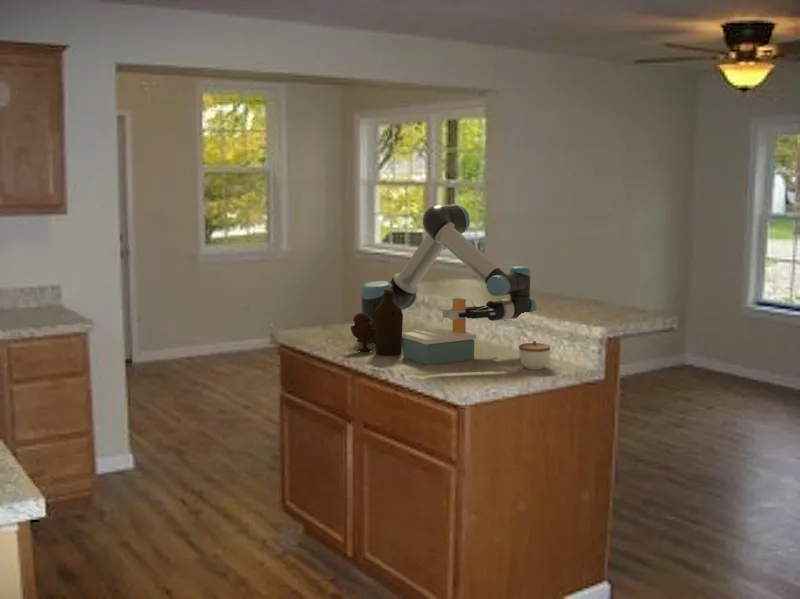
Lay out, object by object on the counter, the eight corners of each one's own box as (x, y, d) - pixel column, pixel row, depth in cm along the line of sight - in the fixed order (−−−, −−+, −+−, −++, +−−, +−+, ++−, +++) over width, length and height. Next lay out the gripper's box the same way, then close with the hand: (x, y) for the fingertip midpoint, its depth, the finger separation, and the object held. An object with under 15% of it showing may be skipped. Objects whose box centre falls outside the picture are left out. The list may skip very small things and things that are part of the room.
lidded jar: (531, 363, 319) (532, 337, 317) (556, 367, 311) (556, 341, 310) (512, 367, 311) (512, 341, 310) (536, 372, 304) (537, 345, 302)
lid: (402, 337, 324) (402, 300, 322) (449, 332, 334) (449, 296, 332) (426, 344, 310) (426, 305, 308) (475, 339, 320) (475, 301, 318)
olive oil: (408, 355, 333) (408, 288, 329) (389, 360, 325) (389, 291, 321) (387, 352, 339) (387, 286, 336) (368, 356, 331) (367, 289, 328)
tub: (403, 360, 325) (403, 338, 324) (449, 354, 335) (449, 333, 334) (426, 367, 311) (426, 345, 310) (474, 361, 321) (474, 339, 320)
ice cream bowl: (375, 354, 335) (375, 314, 333) (347, 353, 338) (346, 314, 336) (382, 349, 346) (381, 310, 344) (354, 348, 348) (353, 310, 346)
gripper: (513, 323, 328) (459, 328, 316) (485, 316, 342) (433, 322, 330) (513, 302, 327) (460, 307, 315) (485, 297, 341) (433, 301, 329)
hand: (446, 314), depth 323 cm, fingers closed on lid, 4 cm apart
